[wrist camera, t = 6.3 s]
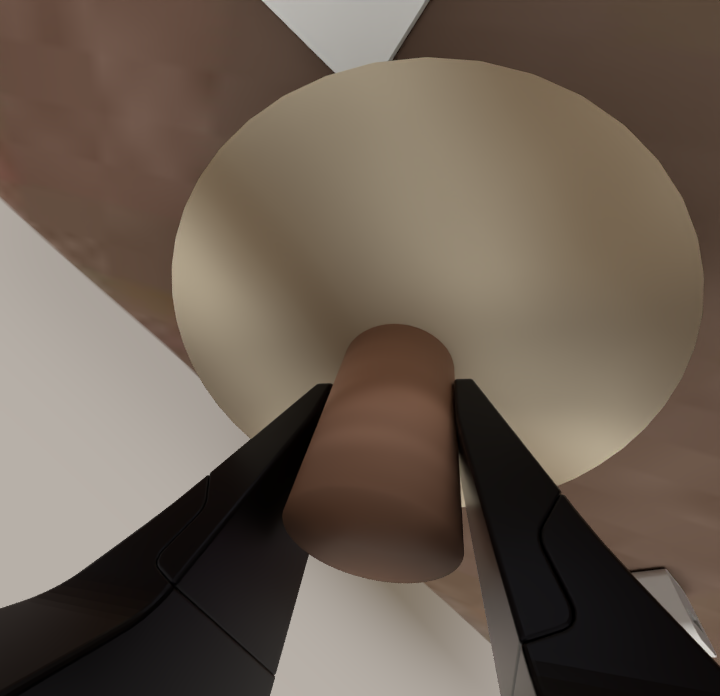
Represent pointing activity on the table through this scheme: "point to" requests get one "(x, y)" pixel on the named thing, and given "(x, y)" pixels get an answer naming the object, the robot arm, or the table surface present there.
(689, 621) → the usb wall charger
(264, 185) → the lid
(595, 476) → the table surface
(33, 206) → the table surface
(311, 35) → the mat
